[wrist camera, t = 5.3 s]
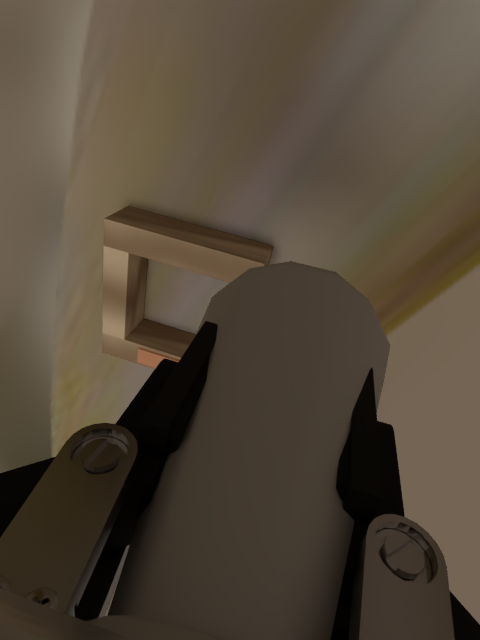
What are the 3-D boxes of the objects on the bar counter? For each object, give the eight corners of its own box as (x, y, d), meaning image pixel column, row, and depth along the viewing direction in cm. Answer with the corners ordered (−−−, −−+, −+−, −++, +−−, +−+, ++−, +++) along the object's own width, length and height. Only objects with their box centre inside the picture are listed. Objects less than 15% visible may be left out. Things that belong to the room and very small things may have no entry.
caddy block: (128, 206, 30) (102, 219, 27) (273, 246, 29) (263, 265, 26) (122, 331, 36) (101, 353, 33) (242, 368, 35) (231, 395, 32)
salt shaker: (410, 265, 13) (836, 1486, 2) (353, 400, 16) (356, 1152, 4) (231, 221, 13) (-364, 842, 2) (209, 358, 16) (-93, 918, 5)
